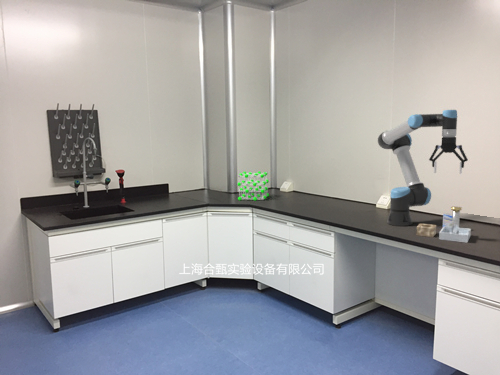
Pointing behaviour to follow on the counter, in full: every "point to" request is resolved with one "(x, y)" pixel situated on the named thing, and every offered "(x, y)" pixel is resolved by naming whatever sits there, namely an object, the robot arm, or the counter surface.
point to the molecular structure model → (254, 183)
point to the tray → (461, 237)
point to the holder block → (426, 230)
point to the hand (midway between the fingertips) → (447, 173)
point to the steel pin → (455, 219)
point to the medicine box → (447, 220)
